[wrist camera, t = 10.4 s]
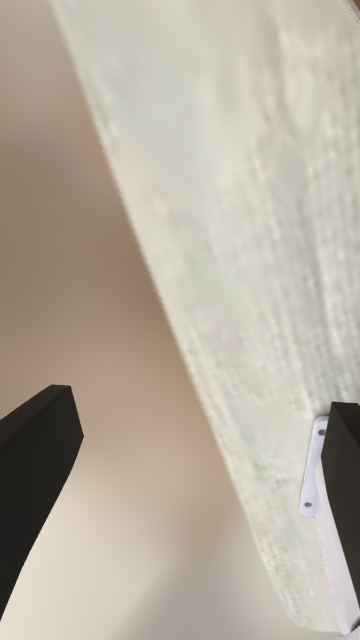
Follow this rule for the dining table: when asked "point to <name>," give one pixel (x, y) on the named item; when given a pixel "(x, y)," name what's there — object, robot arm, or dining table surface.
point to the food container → (354, 8)
